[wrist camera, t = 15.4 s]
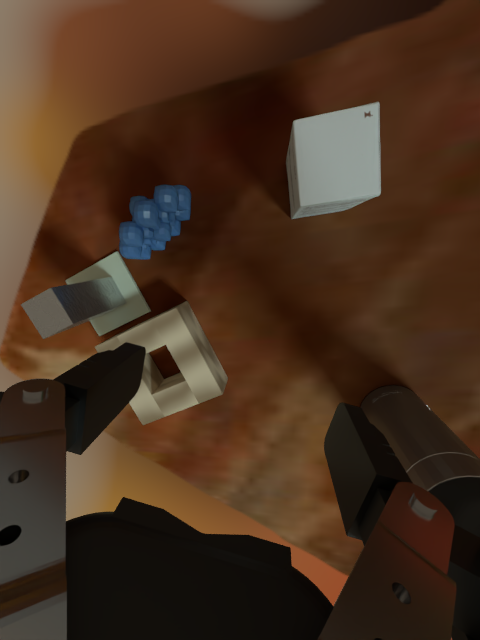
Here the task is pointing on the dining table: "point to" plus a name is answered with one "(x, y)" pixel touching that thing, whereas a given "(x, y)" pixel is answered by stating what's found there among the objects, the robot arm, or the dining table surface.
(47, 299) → the peg
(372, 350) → the dining table surface
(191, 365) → the holder
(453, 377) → the dining table surface
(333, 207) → the supplement box
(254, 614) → the robot arm
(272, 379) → the dining table surface
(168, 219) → the grapes
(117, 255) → the mat
